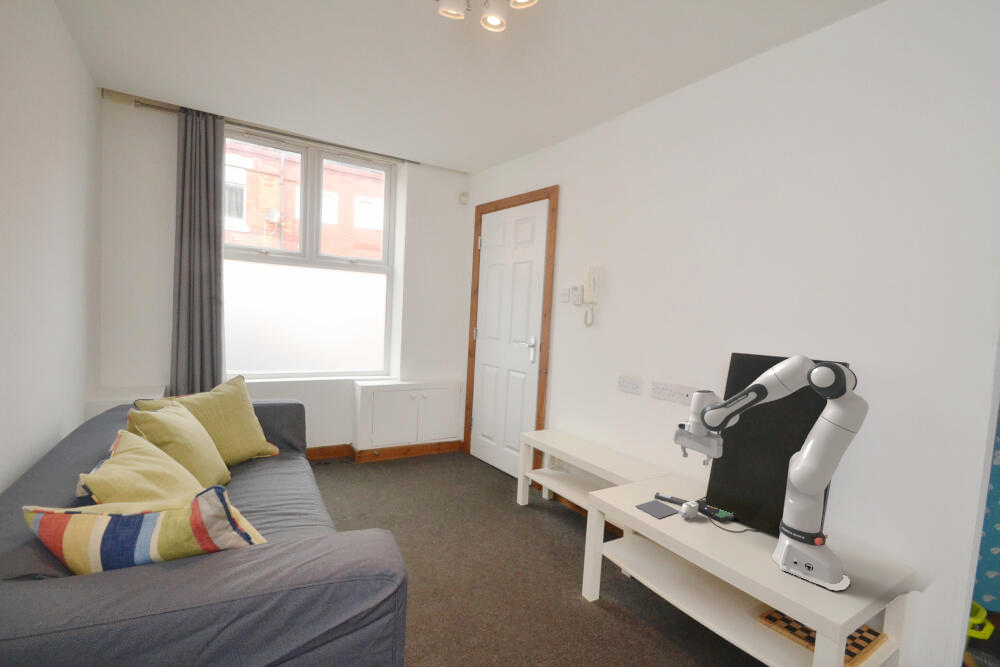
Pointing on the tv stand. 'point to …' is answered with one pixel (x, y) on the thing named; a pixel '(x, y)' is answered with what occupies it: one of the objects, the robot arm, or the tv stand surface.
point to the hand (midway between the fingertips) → (695, 461)
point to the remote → (670, 499)
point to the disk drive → (714, 512)
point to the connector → (689, 510)
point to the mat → (657, 509)
